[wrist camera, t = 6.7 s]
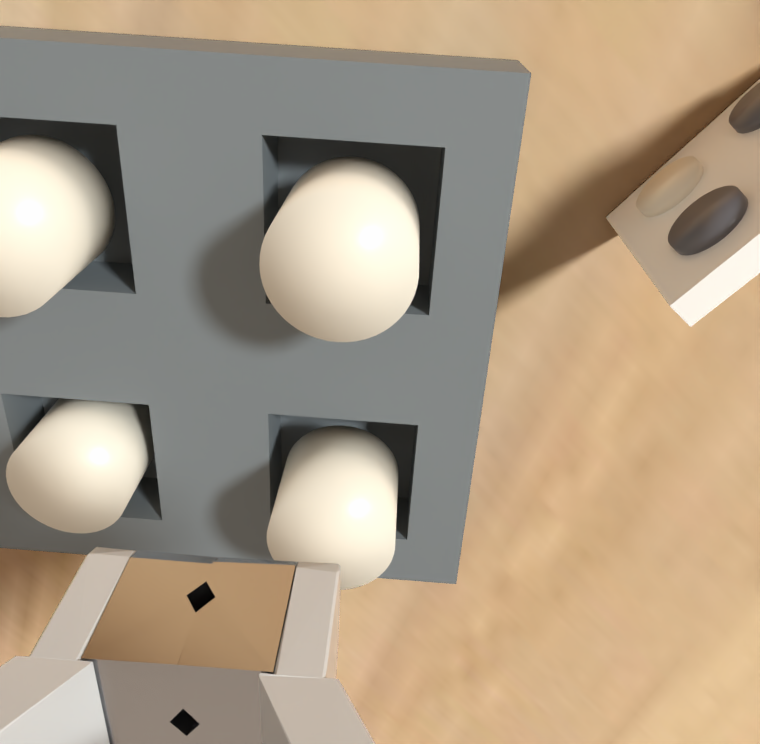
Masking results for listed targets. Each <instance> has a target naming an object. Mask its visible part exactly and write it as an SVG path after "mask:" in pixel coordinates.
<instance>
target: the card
mask: <svg viewBox="0 0 760 744" xmlns="http://www.w3.org/2000/svg"><path fill="white" fill-rule="evenodd" d="M606 219H607V220H608V221H609V223H610V224H611V226H612V227H613V228H614V230H615V231H616V232H617V234H618V235H619V237H620V238H621V239H622V241H623V242H624V243H625V245H626V246H627V248H628V249H629V250H630V252H631V253H632V254H633V256H634V257H635V259H636V260H637V261H638V263H639V264H640V265H641V267H642V268H643V270H644V271H645V272H646V274H647V275H648V276H649V278H650V279H651V281H652V282H653V283H654V285H655V286H656V288H657V289H658V290H659V292H660V293H661V294H662V296H663V297H664V299H665V300H666V301H667V303H668V304H669V305H670V307H671V308H672V309H673V310H674V311H675V312H676V313H677V314H678V315H679V316H680V317H681V318H682V319H683V320H684V321H685V322H686V323H687V324H688V325H689V326H690V327H691V326H692V325H694V324H695V323H696V322H697V321H699V320H700V319H701V318H703V317H704V316H705V315H706V314H708V313H709V312H710V311H712V310H713V309H714V308H715V307H717V306H718V305H719V304H720V303H722V302H723V301H724V300H726V299H727V298H728V297H729V296H731V295H732V294H733V293H735V292H736V291H737V290H738V289H740V288H741V287H742V286H744V285H745V284H746V283H747V282H749V281H750V280H751V279H752V278H754V277H755V276H756V275H758V274H759V273H760V79H759V80H758V81H757V82H756V83H754V84H753V85H752V86H751V87H750V88H749V89H748V90H747V91H746V92H744V93H743V94H742V95H741V96H740V97H739V98H738V99H737V100H736V101H734V102H733V103H732V104H731V105H730V106H729V107H728V108H727V109H726V110H724V111H723V112H722V113H721V114H720V115H719V116H718V117H717V118H716V119H714V120H713V121H712V122H711V123H710V124H709V125H708V126H707V127H706V128H704V129H703V130H702V131H701V132H700V133H699V134H698V135H697V136H696V137H694V138H693V139H692V140H691V141H690V142H689V143H688V144H687V145H686V146H684V147H683V148H682V149H681V150H680V151H679V152H678V153H677V154H676V155H674V156H673V157H672V158H671V159H670V160H669V161H668V162H667V163H666V164H664V165H663V166H662V167H661V168H660V169H659V170H658V171H657V172H656V173H654V174H653V175H652V176H651V177H650V178H649V179H648V180H647V181H646V182H644V183H643V184H642V185H641V186H640V187H639V188H638V189H637V190H636V191H634V192H633V193H632V194H631V195H630V196H629V197H628V198H627V199H626V200H624V201H623V202H622V203H621V204H620V205H619V206H618V207H617V208H616V209H614V210H613V211H612V212H611V213H610V214H609V215H608V216H607V217H606Z"/></svg>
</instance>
